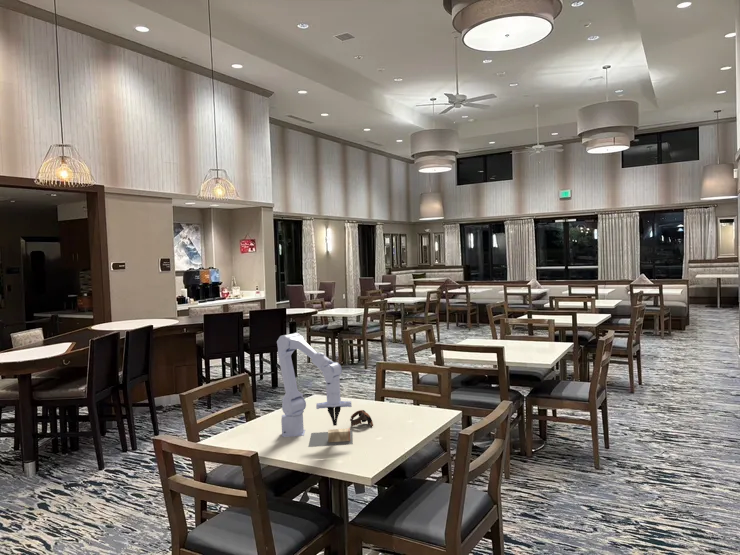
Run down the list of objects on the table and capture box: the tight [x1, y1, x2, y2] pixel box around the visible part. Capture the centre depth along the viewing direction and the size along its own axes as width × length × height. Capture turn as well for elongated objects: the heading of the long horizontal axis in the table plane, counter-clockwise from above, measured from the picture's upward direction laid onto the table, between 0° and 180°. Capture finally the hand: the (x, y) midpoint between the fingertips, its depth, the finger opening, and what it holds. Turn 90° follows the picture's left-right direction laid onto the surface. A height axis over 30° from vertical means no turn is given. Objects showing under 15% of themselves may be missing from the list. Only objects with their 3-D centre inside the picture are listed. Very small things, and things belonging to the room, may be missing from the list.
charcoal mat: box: [307, 429, 354, 448], centre depth 226 cm, size 18×18×1 cm
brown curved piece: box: [349, 409, 374, 427], centre depth 243 cm, size 12×10×8 cm
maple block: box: [327, 427, 351, 442], centre depth 223 cm, size 4×4×9 cm
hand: (335, 424), depth 223 cm, fingers closed
